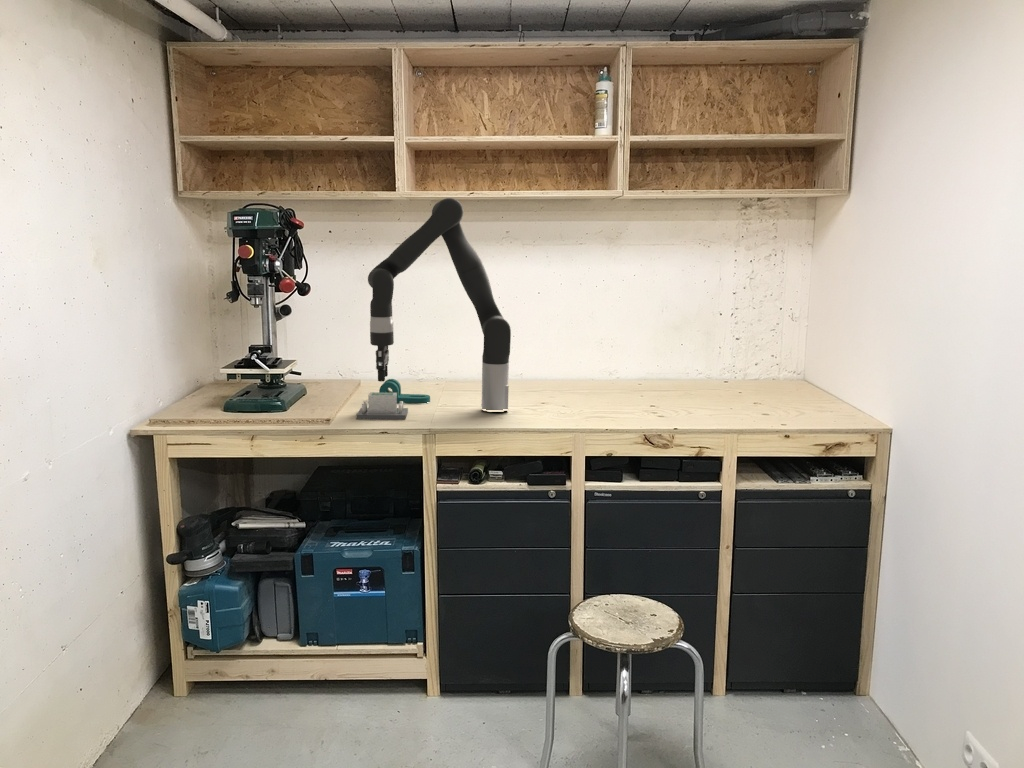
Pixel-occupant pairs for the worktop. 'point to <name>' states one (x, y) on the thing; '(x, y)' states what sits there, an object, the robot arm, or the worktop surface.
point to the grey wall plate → (399, 414)
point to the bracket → (402, 397)
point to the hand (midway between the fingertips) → (382, 378)
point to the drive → (382, 402)
